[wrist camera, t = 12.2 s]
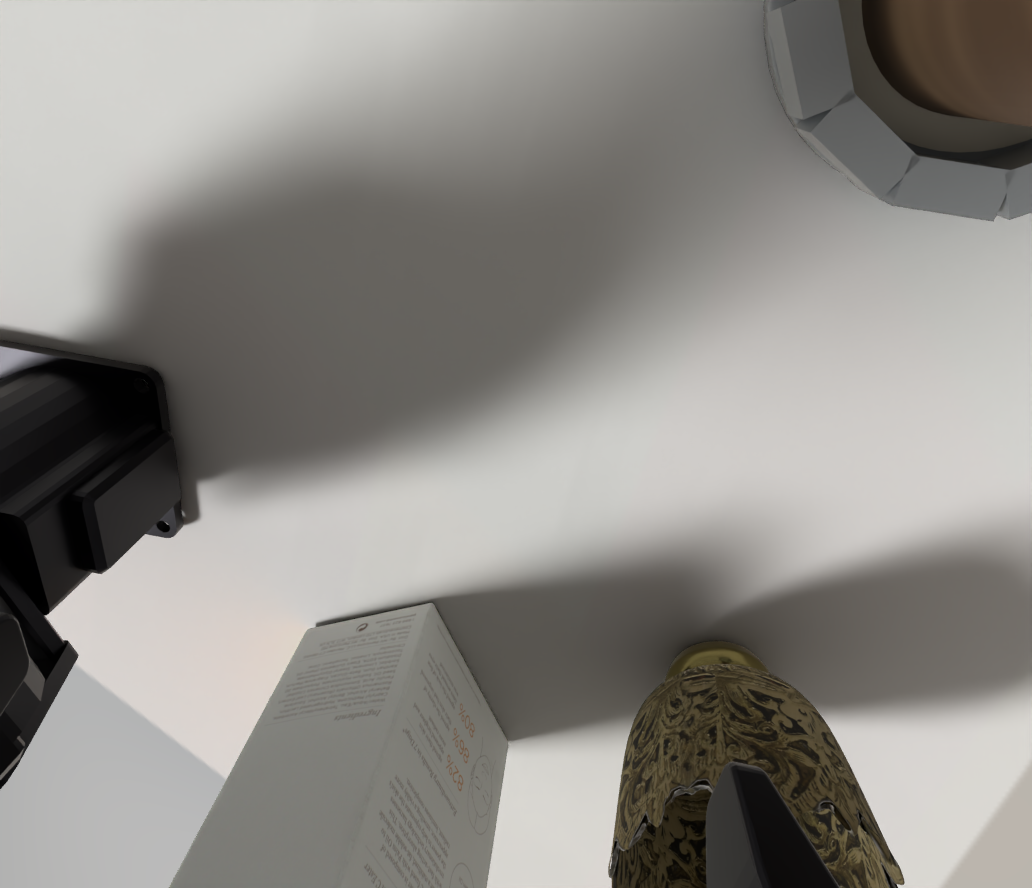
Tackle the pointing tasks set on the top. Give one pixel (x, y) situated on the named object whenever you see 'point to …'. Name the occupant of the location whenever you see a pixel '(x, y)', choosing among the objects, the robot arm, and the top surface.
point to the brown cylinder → (956, 55)
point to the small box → (361, 769)
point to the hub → (888, 121)
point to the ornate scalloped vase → (744, 739)
